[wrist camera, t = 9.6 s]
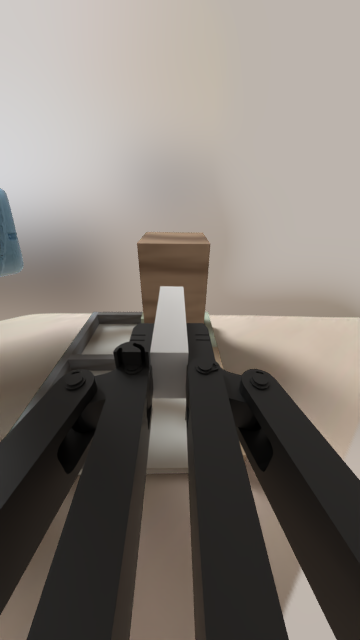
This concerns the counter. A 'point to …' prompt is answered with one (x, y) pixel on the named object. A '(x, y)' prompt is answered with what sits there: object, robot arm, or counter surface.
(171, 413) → the grey flat tray
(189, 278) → the walnut block
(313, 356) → the counter surface
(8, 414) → the counter surface
